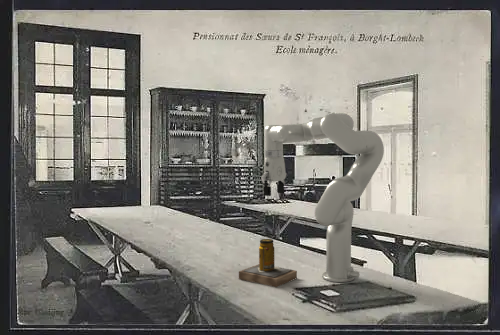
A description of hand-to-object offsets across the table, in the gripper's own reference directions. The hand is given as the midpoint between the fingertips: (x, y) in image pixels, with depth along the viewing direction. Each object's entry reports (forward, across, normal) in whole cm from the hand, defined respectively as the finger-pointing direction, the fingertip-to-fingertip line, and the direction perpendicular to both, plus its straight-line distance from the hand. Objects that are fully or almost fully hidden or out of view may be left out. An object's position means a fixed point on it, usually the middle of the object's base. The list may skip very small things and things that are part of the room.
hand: (274, 194), depth 238 cm
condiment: (+27, -18, -10) cm, 34 cm away
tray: (+30, -19, -10) cm, 37 cm away
